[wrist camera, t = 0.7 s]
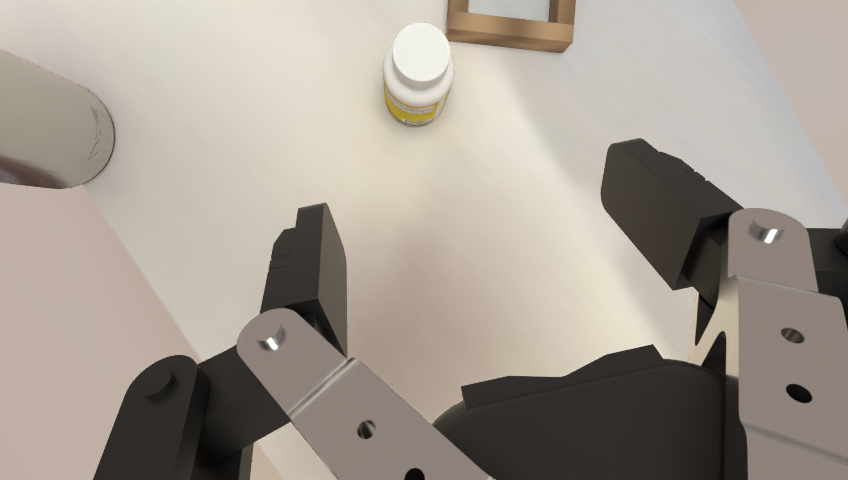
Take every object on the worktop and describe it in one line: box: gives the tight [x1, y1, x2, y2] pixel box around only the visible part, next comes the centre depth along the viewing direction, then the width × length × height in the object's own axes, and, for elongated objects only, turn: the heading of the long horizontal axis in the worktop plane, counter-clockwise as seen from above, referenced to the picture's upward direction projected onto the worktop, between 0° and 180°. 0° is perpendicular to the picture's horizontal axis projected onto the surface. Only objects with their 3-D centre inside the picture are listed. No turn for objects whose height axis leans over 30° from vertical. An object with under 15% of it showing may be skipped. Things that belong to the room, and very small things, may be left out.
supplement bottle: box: [383, 23, 455, 127], centre depth 32 cm, size 5×5×10 cm
